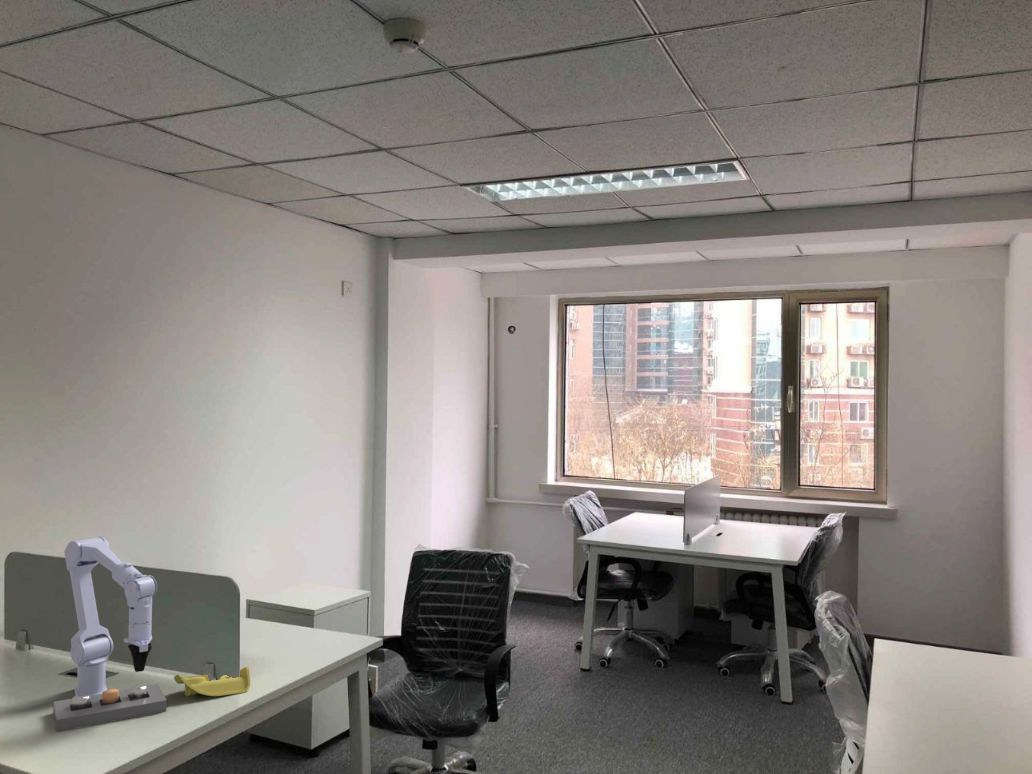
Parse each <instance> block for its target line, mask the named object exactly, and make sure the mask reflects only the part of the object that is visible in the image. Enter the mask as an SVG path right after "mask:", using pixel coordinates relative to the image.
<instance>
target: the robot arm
mask: <svg viewBox="0 0 1032 774" xmlns="http://www.w3.org/2000/svg"><path fill="white" fill-rule="evenodd" d="M110 548H111V547H110V542H109V541H108V540H107V539H106V538H105V537H104V536H96V537H92V538H86V539H80V540H70V541H69V542H68V543H67V545H66V547H65V549H64V551H63V552H64V553H63V554H64V558H65V564H66V570H67V571H68V572H69V575H70V581H71V587H72V593H73V600H74V606H75V612H76V618H77V623H78V624H77V625H78V631H77V632H76V633H75V634H74V635H73V636H72V637H71V639H70V645H71V646H70V647H71V648H70V658H71V660H72V662H73V663H74V664H75V665H77V673H76V674H77V675H76V676H77V678H76V679H77V680H76V682H77V683H76V686H75V687H73V691H74V696H76V695H79V694H89V695H96V694H102V692H103V691H105V690H108V687H107V684H106V678H107V677H106V676H107V675H106V671H107V670H106V669H107V667H106V666H107V660H108V659H109V656H111V654H112V653H113V651H114V642H113V639H112V637H111V635H110V632H109V629H108V628H106V627H104V626H103V625H100V620H99V614H98V613H99V612H98V608H97V601H96V596H95V590H94V584H93V578H92V573H91V572H92V571H93V569H94V567H96V566H97V565H98V564H100V565H101V566H103V567H105V568H106V569H107V570H109V571H110V572H111V578H112V579H113V581H115V582H116V583H117V584H118V585H119V586H120V587H122V589H124V590H123V591H124V595H125V598H126V605H127V607H128V637H126V638H123V642H124V643H125V644H128V643H129V644H128V645H127V648H128V649H129V651H130V655H131V657H132V664H133V669H134V672H135V673H140V672H144V671H145V668H146V664H147V659H148V656H149V654H150V652H151V650H152V648H153V646H152V643H151V642H152V640H153V635H152V627H153V625H152V621H153V619H152V618H153V614H152V613H153V597H154V596H155V595H156V593H157V591H158V584H157V583H158V582H157V580H156V579H155V578H154V576H153V575H150V574H149V575H146V574H142V572H140V571H139V570H138V569H137V567H134V566H133V564H132V563H131V562H128V561H127V562H126V561H124V562H122V560H120V559H119V557H118V556H116V554H115V553H114V552H113V551H112V550H111V549H110ZM88 638H89V639H88Z"/></svg>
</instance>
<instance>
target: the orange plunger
mask: <svg viewBox="0 0 1032 774" xmlns="http://www.w3.org/2000/svg"><path fill="white" fill-rule="evenodd" d="M119 691H120V689H117V688H110V689H107V690H105V691H103V692H102V702H103V703H114V702H116V701H118V700H119Z"/></svg>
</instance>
